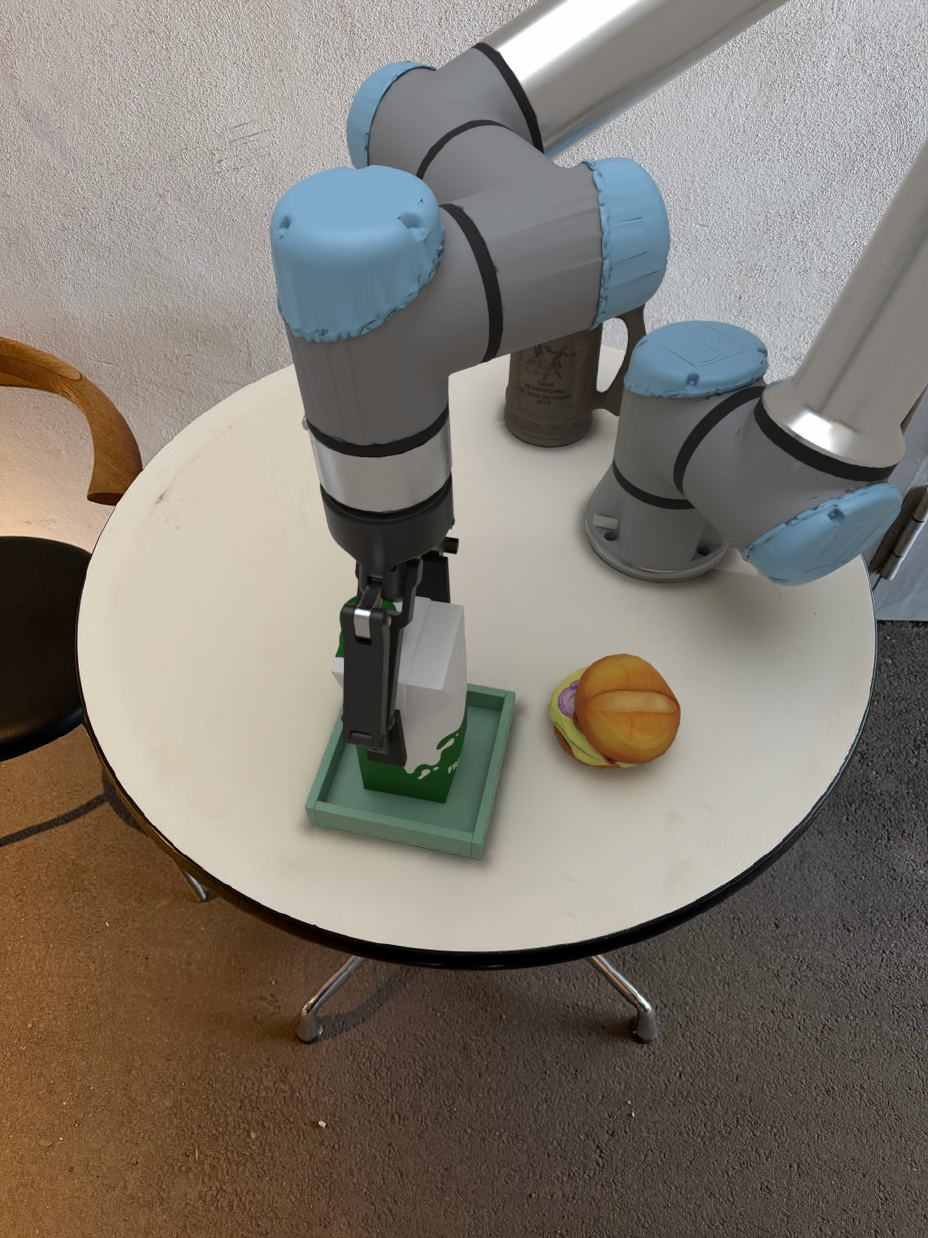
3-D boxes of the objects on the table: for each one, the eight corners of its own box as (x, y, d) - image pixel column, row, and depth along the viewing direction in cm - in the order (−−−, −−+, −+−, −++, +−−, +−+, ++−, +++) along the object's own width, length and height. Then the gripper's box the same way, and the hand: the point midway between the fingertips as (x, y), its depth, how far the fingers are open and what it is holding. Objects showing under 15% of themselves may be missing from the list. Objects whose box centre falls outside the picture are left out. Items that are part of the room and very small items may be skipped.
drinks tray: (514, 710, 78) (515, 691, 76) (481, 860, 69) (481, 844, 67) (361, 681, 80) (357, 662, 78) (309, 824, 71) (304, 807, 69)
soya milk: (377, 710, 77) (352, 562, 62) (475, 727, 76) (475, 580, 61) (350, 797, 72) (315, 659, 56) (455, 816, 71) (449, 681, 55)
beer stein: (489, 439, 101) (505, 285, 85) (506, 384, 108) (524, 231, 92) (617, 464, 100) (659, 312, 84) (627, 407, 106) (667, 256, 90)
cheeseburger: (601, 657, 81) (636, 608, 73) (677, 745, 78) (722, 705, 70) (521, 713, 77) (547, 669, 69) (597, 809, 74) (635, 774, 66)
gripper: (382, 335, 56) (407, 553, 73) (239, 635, 41) (311, 822, 58) (494, 348, 55) (493, 566, 72) (389, 661, 40) (418, 844, 57)
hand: (412, 681), depth 65 cm, fingers open, 13 cm apart
